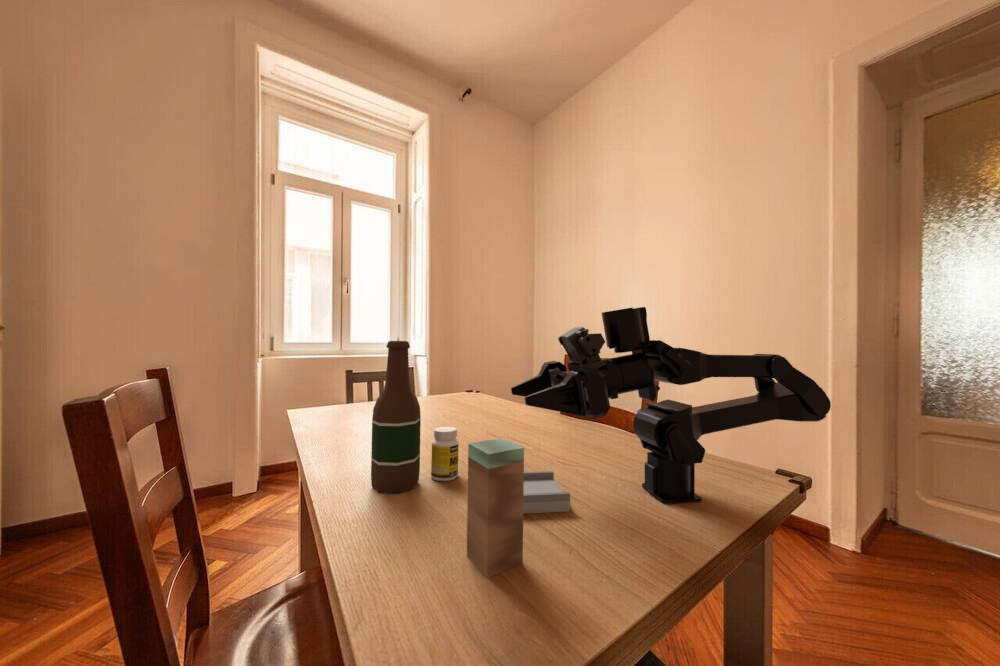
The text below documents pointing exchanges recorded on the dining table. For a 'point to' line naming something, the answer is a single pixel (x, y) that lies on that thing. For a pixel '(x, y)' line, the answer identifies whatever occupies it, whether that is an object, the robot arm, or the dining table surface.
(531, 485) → the tray
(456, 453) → the supplement bottle
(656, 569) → the dining table surface
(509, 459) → the green-topped wooden block
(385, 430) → the beer bottle
